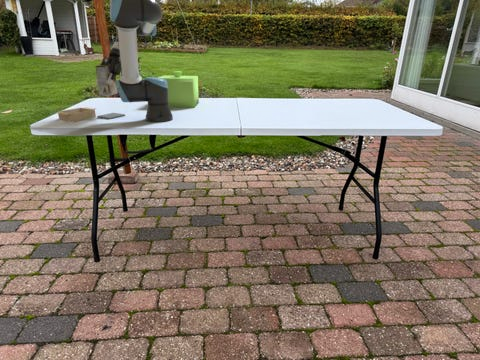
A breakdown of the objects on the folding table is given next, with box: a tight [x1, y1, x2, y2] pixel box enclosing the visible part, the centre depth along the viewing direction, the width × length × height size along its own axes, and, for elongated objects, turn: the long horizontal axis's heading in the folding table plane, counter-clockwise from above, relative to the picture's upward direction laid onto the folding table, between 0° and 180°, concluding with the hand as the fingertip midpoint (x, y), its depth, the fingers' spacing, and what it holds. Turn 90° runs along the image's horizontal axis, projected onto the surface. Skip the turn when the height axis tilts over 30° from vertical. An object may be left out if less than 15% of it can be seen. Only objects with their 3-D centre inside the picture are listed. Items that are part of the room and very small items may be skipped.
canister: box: [157, 70, 200, 109], centre depth 242 cm, size 25×21×23 cm
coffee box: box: [95, 65, 118, 97], centre depth 197 cm, size 9×6×16 cm
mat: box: [96, 112, 126, 120], centre depth 204 cm, size 10×12×1 cm
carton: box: [55, 106, 97, 123], centre depth 199 cm, size 13×20×4 cm, turn 152°
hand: (103, 83), depth 194 cm, fingers closed on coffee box, 7 cm apart
